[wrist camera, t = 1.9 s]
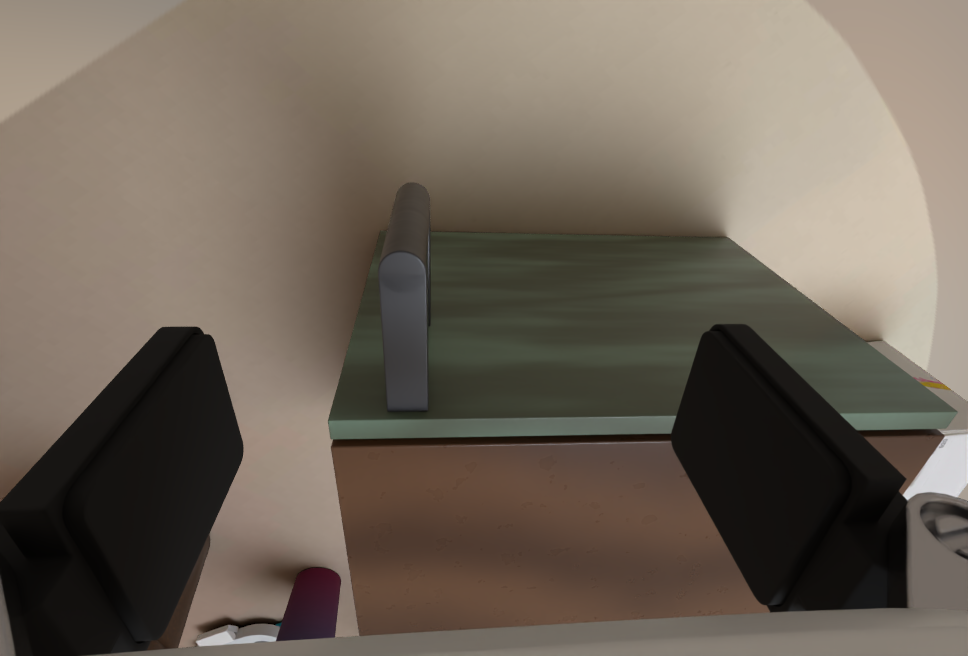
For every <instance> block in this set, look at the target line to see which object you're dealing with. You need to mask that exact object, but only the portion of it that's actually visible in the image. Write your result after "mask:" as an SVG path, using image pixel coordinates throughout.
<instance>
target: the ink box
mask: <svg viewBox="0 0 968 656" xmlns="http://www.w3.org/2000/svg"><path fill="white" fill-rule="evenodd" d="M867 343H868V344H870V345H871V346H872V347H873V348H875V349H876V350H877V351H879V352H880V353H881V354H883V355H884V356H885V357H887V358H888V359H889V360H891V361H892V362H893V363H895V364H896V365H897V366H899V367H900V368H901V369H902V370H904V371H905V372H906V373H908V374H909V375H910V376H912V377H913V378H914V379H916V380H917V381H918V382H920V383H921V384H922V385H924V386H925V387H926V388H928V389H929V390H930V391H931V392H933V393H934V394H935V395H937V396H938V397H939V398H941V399H942V400H943V401H945V402H946V403H947V404H949V405H950V406H951V407H953V408H954V409H955V410H957V411H958V413H957V414H956V416H955V417H954V419H953V420H952V421H951V423H950V424H949V426H948V427H947V428H946V429H938V430H939V431H940V432H941V433H942V434H944V435H945V437H944V439H943V440H942V441H941V443H940V444H939V446H938V447H937V448H936V450H935V451H934V452H933V454H932V455H931V457H930V458H929V459H928V461H927V462H926V464H925V465H924V466H923V468H922V469H921V471H920V472H919V473H918V475H917V476H916V477H915V479H914V480H913V482H912V483H911V484H910V486H909V487H908V489H907V490H906V491H905V493H904V494H903V496H904V497H905V498H906V499H907V500H909V499H910V498H911V497H913V496H914V495H916V494H917V493H926V492H934V493H941V494H947V495H951V496H954V497H958V496H959V494H960V493H961V492H962V490H963V489H964V487H965V486H966V485H967V483H968V402H967V401H966V400H965V399H963V398H962V397H961V396H959V395H958V394H956V393H955V392H954V391H952V390H951V389H950V388H948V387H947V386H945V385H944V384H943V383H941V382H940V381H939V380H937V379H936V378H934V377H933V376H932V375H930V374H929V373H928V372H926V371H925V370H923V369H922V368H921V367H919V366H918V365H916V364H915V363H914V362H912V361H911V360H910V359H908V358H907V357H906V356H904V355H903V354H902V353H900V352H899V351H897V350H896V349H895V348H893V347H892V346H890V345H889V344H888V343H886V342H885V341H873V342H867Z"/></svg>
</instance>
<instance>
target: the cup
mask: <svg viewBox="0 0 968 656" xmlns="http://www.w3.org/2000/svg"><path fill="white" fill-rule="evenodd" d="M340 585H341V579H340V577H339V575H338V574H337V573H335V572H334V571H332V570H329V569H325V568H309V569H306V570H304V571H302V572H300V573H299V574H298V575H297V577H296V580H295V583H294V586H293V589H292V592H291V595H290V598H289V602H288V605H287V608H286V611H285V614H284V617H283V620H282V623H281V626H280V629H279V632H278V636H277V639H276V641H290V640H305V639H321V638H335V631H336V622H337V613H338V604H339V595H340Z"/></svg>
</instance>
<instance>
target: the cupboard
mask: <svg viewBox="0 0 968 656" xmlns="http://www.w3.org/2000/svg"><path fill="white" fill-rule="evenodd" d="M857 431H858V432H859V433H860V434H861V435H862V436H863V437H864V438H865V439H866V440H867V441H868V442H869V443H870V444H871V445H872V446H873V447H874V448H875V449H876V450H877V451H878V452H880V453H881V454H882V455H883V456H884V457H885V458H886V459H887V460H888V461H889V462H890V463H891V464H892V465H893V466H894V467H895V468H896V469H897V470H898V471H899V472H900V473H901V474H902V475H903V476H904V477H905V478H906V481H905V482H904V484H903V485H902V487H901V488H900V490H899V492H900V493H901V494H902V495H903V494H904V493H905V491H906V490H907V489H908V487H909V486H910V484H911V483H912V482H913V480H914V479H915V477H916V476H917V475H918V473H919V472H920V471H921V469H922V468H923V466H924V465H925V464H926V462H927V461H928V459H929V458H930V457H931V455H932V454H933V452H934V451H935V450H936V448H937V447H938V446H939V444H940V443H941V441H942V440H943V439H944V437H945V435H944V434H942V433H941V432H940V431H939V430H938V429H903V430H857ZM331 450H332V457H333V464H334V470H335V477H336V483H337V490H338V497H339V503H340V510H341V516H342V523H343V530H344V536H345V543H346V549H347V556H348V563H349V569H350V576H351V583H352V589H353V596H354V602H355V609H356V616H357V622H358V629H359V635H360V636H368V635H384V634H399V633H416V632H433V631H449V630H466V629H483V628H500V627H517V626H534V625H551V624H569V623H586V622H603V621H621V620H640V619H658V618H677V617H696V616H715V615H734V614H753V613H770V611H769V609H768V607H767V605H762V604H760V603H759V602H758V601H757V600H756V598H755V597H754V595H753V593H752V591H751V590H750V588H749V586H748V584H747V582H746V581H745V579H744V577H743V575H742V573H741V572H740V570H739V568H738V566H737V564H736V563H735V561H734V559H733V557H732V555H731V553H730V552H729V550H728V548H727V546H726V544H725V543H724V541H723V539H722V537H721V535H720V534H719V532H718V530H717V528H716V526H715V524H714V523H713V521H712V519H711V517H710V515H709V514H708V512H707V510H706V508H705V506H704V505H703V503H702V501H701V499H700V497H699V496H698V494H697V492H696V490H695V488H694V486H693V485H692V483H691V481H690V479H689V477H688V476H687V474H686V472H685V470H684V468H683V467H682V465H681V463H680V461H679V459H678V458H677V456H676V454H675V452H674V450H673V448H672V444H671V434H615V435H557V436H500V437H442V438H384V439H333V442H332V446H331Z"/></svg>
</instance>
